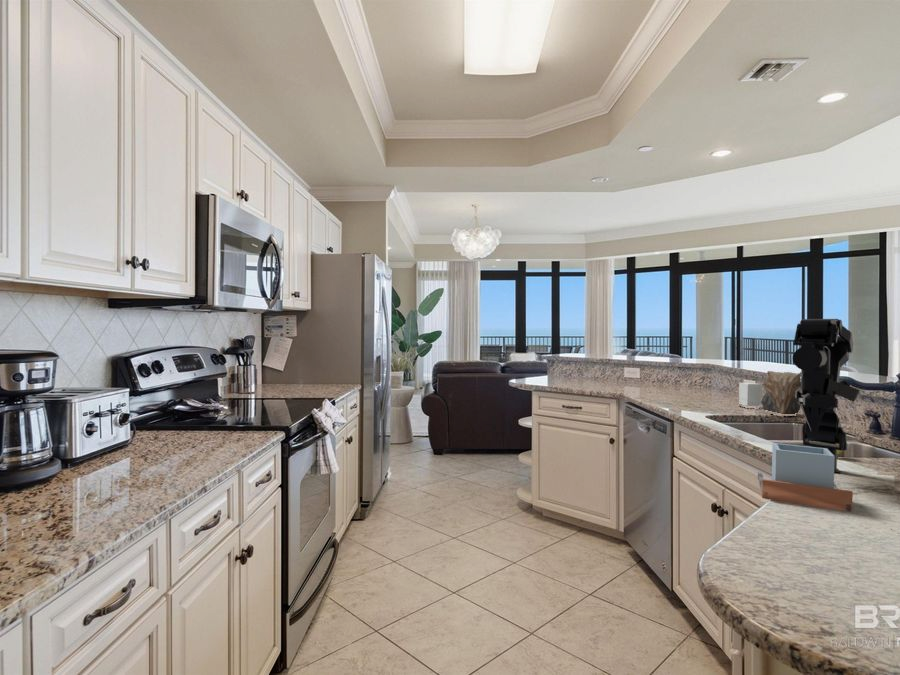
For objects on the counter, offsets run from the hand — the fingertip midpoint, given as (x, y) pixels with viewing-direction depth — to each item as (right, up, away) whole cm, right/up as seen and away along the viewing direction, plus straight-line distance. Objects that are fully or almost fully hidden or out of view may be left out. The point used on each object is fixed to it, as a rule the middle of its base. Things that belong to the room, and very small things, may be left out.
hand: (814, 431), depth 122 cm
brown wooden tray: (-14, -12, -14) cm, 23 cm away
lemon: (+24, -13, +25) cm, 36 cm away
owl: (+62, -13, +104) cm, 122 cm away
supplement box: (+61, -13, +126) cm, 141 cm away
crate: (-15, -11, -16) cm, 24 cm away
